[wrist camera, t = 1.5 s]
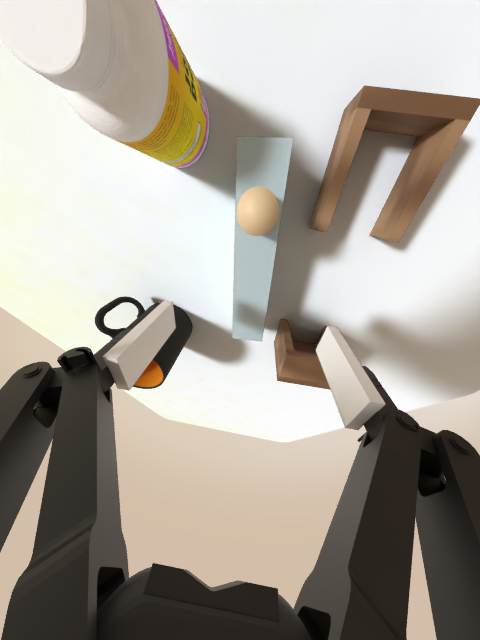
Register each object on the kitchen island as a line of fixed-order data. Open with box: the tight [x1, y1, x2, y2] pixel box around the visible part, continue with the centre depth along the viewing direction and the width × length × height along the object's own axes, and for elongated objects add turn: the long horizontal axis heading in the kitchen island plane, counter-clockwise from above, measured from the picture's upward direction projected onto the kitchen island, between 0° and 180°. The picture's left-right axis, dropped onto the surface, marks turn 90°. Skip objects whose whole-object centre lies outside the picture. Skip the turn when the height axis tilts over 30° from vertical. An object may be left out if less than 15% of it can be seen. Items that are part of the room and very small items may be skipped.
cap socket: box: [274, 319, 331, 390], centre depth 25 cm, size 5×8×8 cm, turn 83°
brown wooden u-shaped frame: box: [309, 86, 480, 242], centre depth 16 cm, size 9×8×4 cm
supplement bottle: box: [0, 0, 209, 168], centre depth 11 cm, size 7×7×13 cm
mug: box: [95, 297, 192, 389], centre depth 25 cm, size 8×12×10 cm
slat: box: [232, 136, 293, 341], centre depth 19 cm, size 19×4×9 cm, turn 177°
